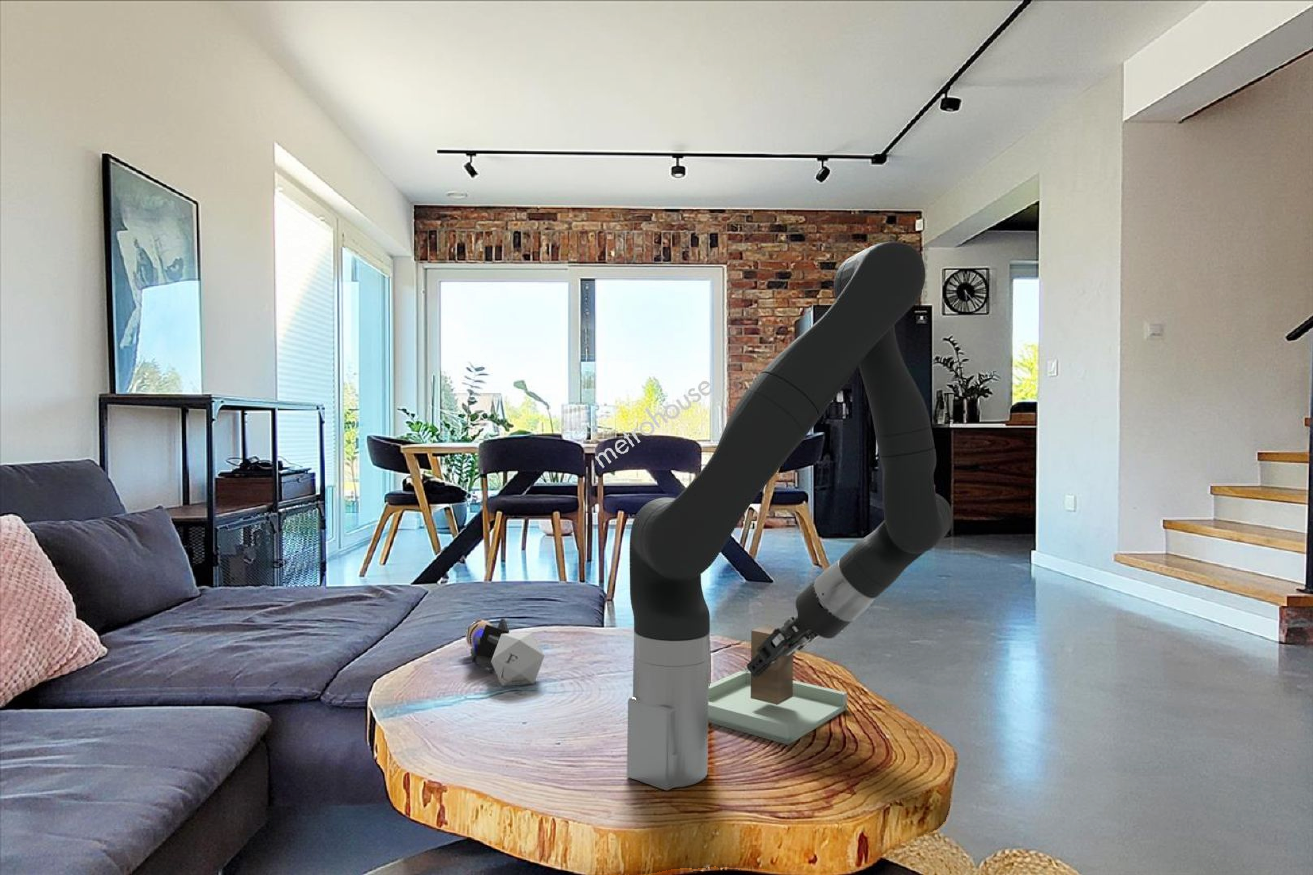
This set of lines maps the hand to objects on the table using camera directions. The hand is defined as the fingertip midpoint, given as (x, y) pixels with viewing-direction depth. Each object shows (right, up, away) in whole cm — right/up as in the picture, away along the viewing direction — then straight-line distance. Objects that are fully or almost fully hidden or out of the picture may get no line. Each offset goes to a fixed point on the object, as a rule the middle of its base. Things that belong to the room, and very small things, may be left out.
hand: (760, 667), depth 123 cm
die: (-38, -6, +12) cm, 40 cm away
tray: (0, -6, 0) cm, 7 cm away
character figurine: (-45, -6, +22) cm, 51 cm away
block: (+2, -4, -1) cm, 5 cm away
